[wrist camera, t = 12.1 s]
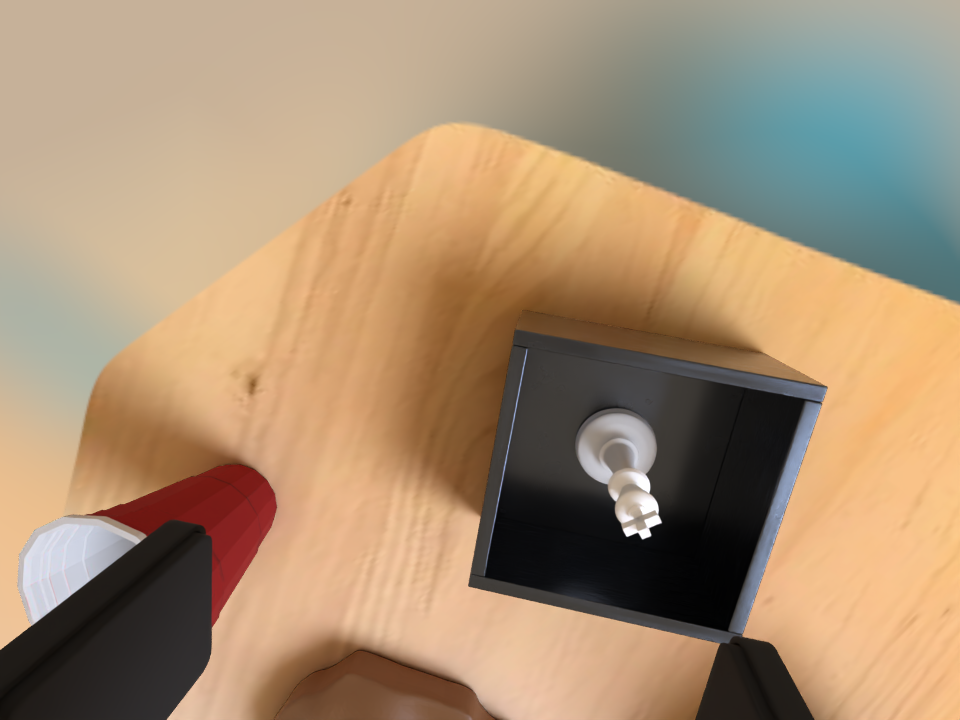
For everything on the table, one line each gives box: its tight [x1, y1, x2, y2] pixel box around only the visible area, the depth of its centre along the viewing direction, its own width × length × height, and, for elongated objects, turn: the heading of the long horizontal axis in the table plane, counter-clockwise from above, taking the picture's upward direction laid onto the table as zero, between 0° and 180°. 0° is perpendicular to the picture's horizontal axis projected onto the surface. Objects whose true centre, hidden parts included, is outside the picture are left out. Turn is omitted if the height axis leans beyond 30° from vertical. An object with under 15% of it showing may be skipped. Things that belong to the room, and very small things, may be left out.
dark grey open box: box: [468, 310, 827, 644], centre depth 30 cm, size 15×15×7 cm
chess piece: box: [575, 408, 662, 539], centre depth 28 cm, size 5×5×10 cm
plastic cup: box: [18, 465, 277, 627], centre depth 32 cm, size 11×11×12 cm
